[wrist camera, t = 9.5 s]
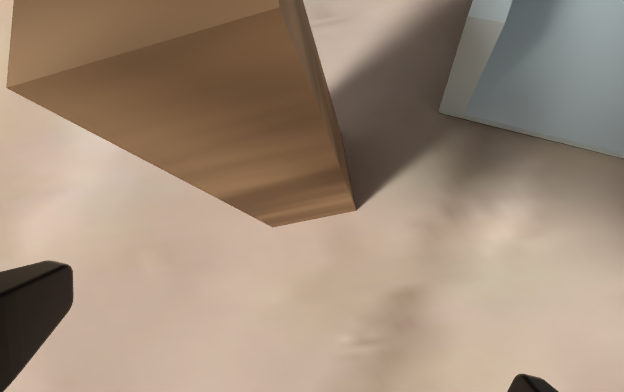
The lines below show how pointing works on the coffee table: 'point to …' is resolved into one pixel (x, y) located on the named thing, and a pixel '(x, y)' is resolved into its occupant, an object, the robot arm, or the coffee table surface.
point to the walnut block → (194, 94)
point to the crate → (543, 71)
